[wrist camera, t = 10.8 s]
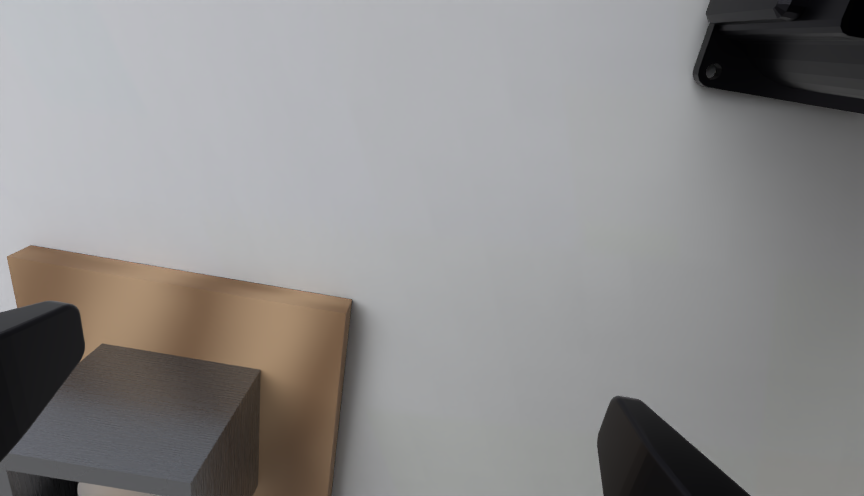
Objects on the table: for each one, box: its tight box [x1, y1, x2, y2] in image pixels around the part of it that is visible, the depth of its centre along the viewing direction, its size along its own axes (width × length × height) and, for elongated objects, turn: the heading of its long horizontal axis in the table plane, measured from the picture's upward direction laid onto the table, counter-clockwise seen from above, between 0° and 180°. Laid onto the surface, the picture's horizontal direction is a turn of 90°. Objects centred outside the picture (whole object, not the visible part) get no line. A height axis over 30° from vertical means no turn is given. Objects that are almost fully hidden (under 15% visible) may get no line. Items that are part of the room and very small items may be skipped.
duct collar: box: [0, 343, 261, 496], centre depth 20 cm, size 7×7×6 cm
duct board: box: [7, 245, 352, 496], centre depth 21 cm, size 14×14×6 cm
